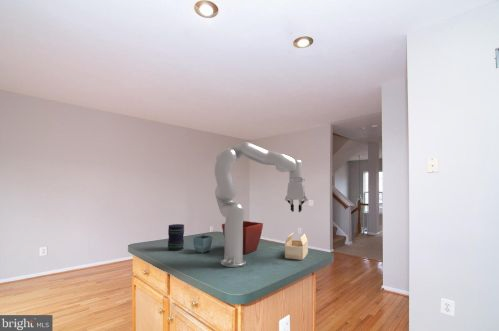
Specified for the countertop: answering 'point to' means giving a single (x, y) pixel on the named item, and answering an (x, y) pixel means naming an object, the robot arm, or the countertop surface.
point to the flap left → (289, 238)
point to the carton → (296, 250)
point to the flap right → (303, 239)
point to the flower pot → (202, 243)
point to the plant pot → (249, 235)
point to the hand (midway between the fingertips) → (296, 211)
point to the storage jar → (176, 237)
